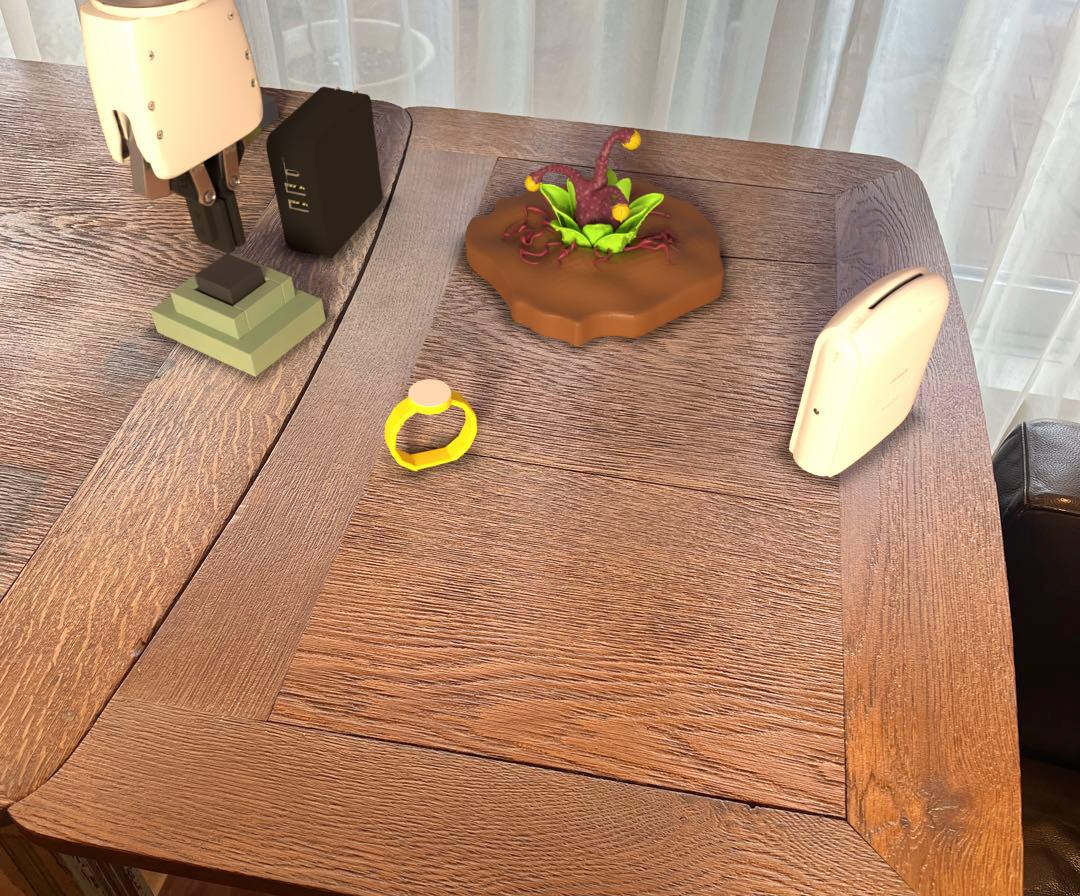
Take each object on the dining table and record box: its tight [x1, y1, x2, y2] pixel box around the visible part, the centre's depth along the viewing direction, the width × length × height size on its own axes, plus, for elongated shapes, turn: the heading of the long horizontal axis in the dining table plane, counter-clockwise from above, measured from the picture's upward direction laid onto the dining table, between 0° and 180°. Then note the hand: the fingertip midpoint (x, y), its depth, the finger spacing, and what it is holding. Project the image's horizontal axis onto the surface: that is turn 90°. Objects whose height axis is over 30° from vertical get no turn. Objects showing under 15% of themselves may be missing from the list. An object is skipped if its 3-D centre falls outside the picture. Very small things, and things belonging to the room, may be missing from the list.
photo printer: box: [788, 265, 950, 478], centre depth 67 cm, size 10×4×12 cm, turn 133°
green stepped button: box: [149, 252, 327, 378], centre depth 78 cm, size 10×8×4 cm
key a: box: [194, 253, 264, 306], centre depth 76 cm, size 3×3×2 cm
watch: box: [384, 378, 478, 472], centre depth 67 cm, size 6×3×6 cm, turn 113°
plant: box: [464, 127, 725, 347], centre depth 81 cm, size 20×20×11 cm
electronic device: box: [265, 86, 383, 258], centre depth 85 cm, size 4×10×10 cm, turn 160°
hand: (222, 242), depth 74 cm, fingers closed
